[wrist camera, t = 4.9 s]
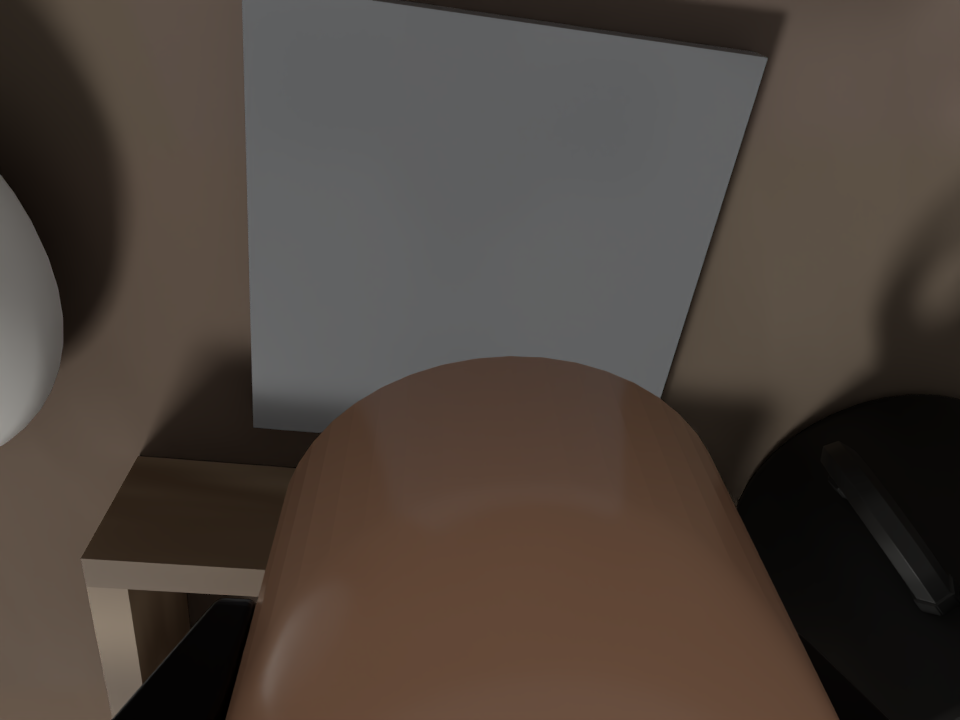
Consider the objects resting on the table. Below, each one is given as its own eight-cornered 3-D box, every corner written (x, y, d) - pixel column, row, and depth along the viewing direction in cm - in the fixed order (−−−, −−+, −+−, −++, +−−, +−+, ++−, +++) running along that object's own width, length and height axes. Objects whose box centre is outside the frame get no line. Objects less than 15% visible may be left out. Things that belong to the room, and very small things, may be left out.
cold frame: (591, 708, 29) (611, 815, 25) (168, 690, 27) (128, 802, 24) (665, 496, 23) (703, 597, 20) (138, 455, 22) (80, 558, 18)
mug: (931, 264, 19) (1254, 496, 12) (1058, 520, 25) (1340, 799, 17) (629, 446, 22) (730, 732, 14) (801, 643, 27) (942, 930, 20)
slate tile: (634, 442, 22) (641, 459, 21) (259, 410, 21) (253, 427, 20) (754, 51, 16) (768, 57, 16) (250, -22, 15) (241, -19, 15)
